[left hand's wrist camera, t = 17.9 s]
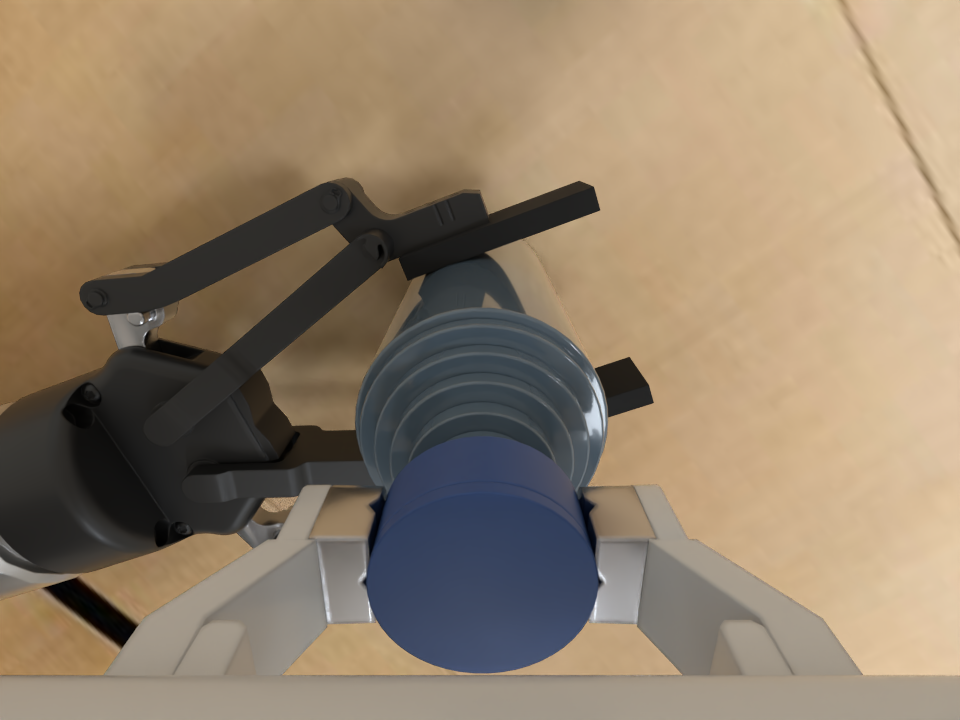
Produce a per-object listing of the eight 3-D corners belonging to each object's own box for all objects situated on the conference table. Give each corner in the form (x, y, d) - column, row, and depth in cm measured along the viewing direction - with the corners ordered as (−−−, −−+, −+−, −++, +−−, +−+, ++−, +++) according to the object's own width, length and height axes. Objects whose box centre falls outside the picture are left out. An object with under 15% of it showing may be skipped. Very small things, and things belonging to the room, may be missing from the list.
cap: (590, 583, 11) (609, 659, 9) (408, 608, 11) (396, 686, 10) (567, 419, 10) (585, 474, 8) (361, 452, 10) (338, 512, 8)
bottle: (387, 298, 27) (222, 580, 10) (474, 195, 25) (461, 313, 8) (486, 378, 28) (497, 744, 11) (574, 286, 26) (748, 551, 9)
